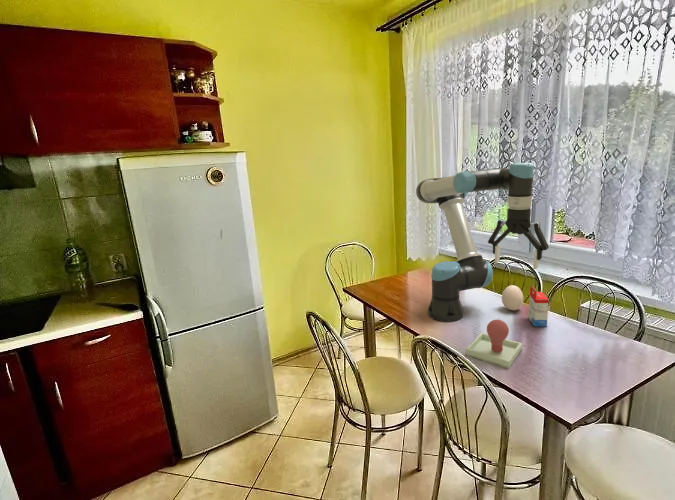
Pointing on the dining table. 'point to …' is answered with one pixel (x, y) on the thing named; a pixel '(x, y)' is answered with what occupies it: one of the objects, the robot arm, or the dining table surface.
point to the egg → (512, 297)
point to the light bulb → (497, 334)
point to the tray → (483, 351)
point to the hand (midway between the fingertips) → (515, 265)
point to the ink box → (538, 308)
